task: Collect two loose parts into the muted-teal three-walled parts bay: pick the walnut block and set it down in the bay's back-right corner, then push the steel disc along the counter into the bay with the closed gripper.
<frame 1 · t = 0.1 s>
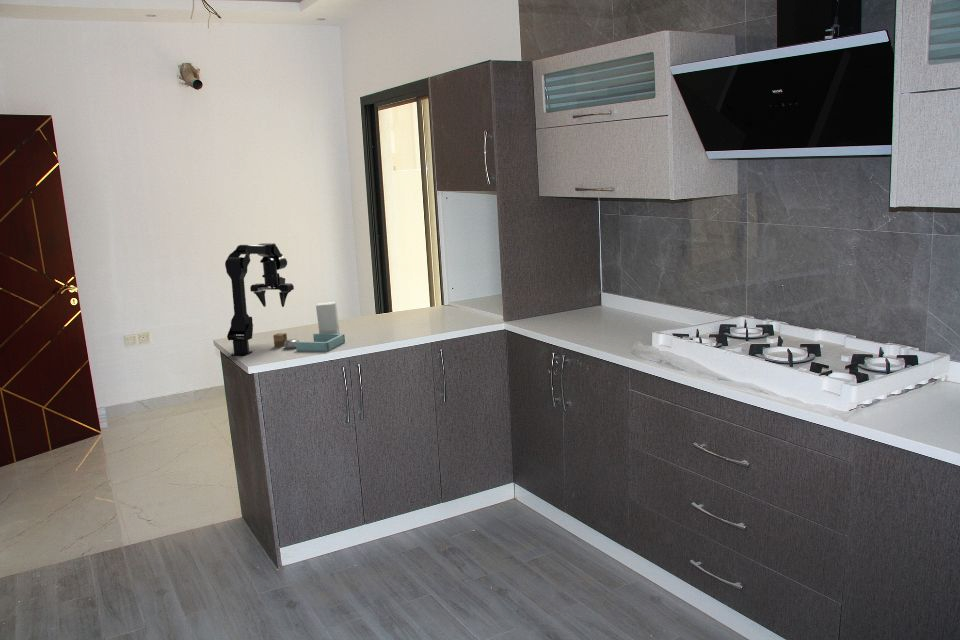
hand: (273, 306, 352), 15 cm above the table, fingers open, 9 cm apart
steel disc: (292, 347, 337), on the table
skincare box: (329, 338, 352), on the table
parts bay: (319, 346, 336), on the table
walnut block: (281, 345, 341), on the table
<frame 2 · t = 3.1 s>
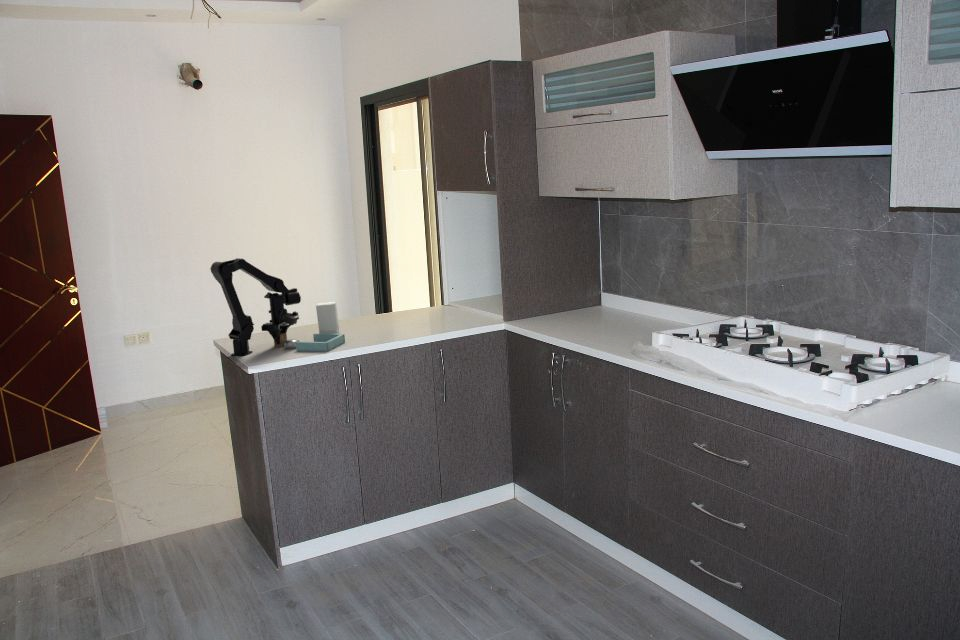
hand: (280, 343, 341), 1 cm above the table, fingers closed on walnut block, 4 cm apart
walnut block: (281, 345, 341), on the table, touching gripper
everything else where it was.
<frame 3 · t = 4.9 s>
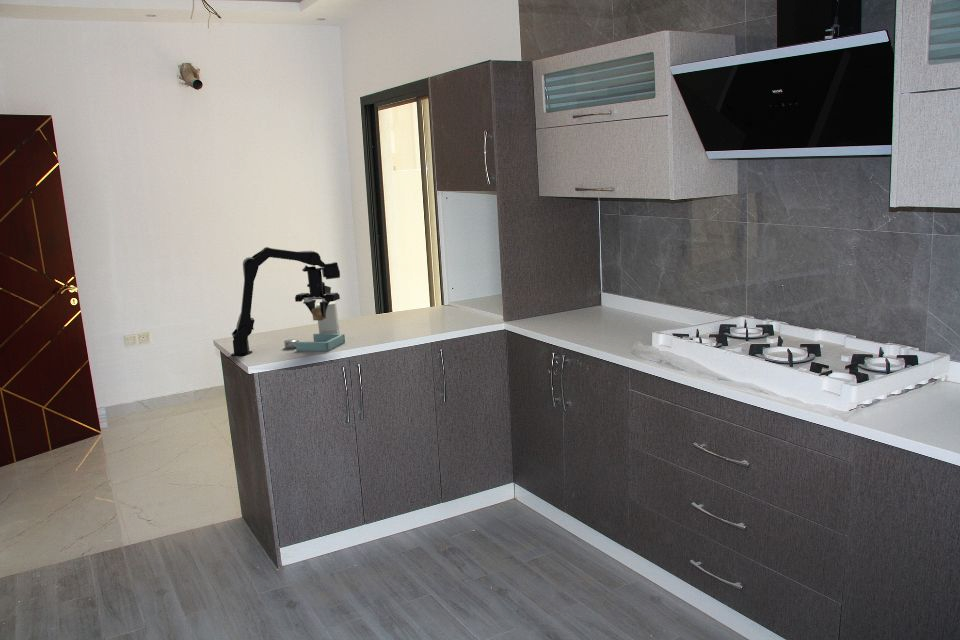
hand: (319, 317, 338), 12 cm above the table, fingers closed on walnut block, 4 cm apart
walnut block: (319, 319, 338), point 11 cm above the table, touching gripper
everything else where it was.
when the fingers open (2 cm above the table, at t = 7.1 s): walnut block drops 2 cm, on the table.
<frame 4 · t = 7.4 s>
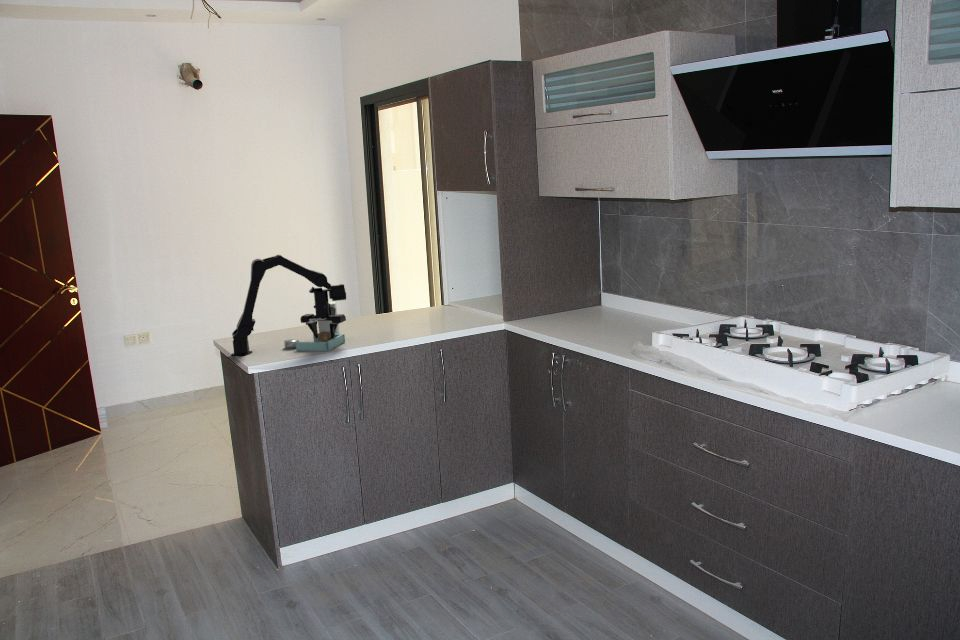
hand: (324, 338, 339), 2 cm above the table, fingers open, 7 cm apart
walnut block: (325, 344, 340), on the table
everything else where it was.
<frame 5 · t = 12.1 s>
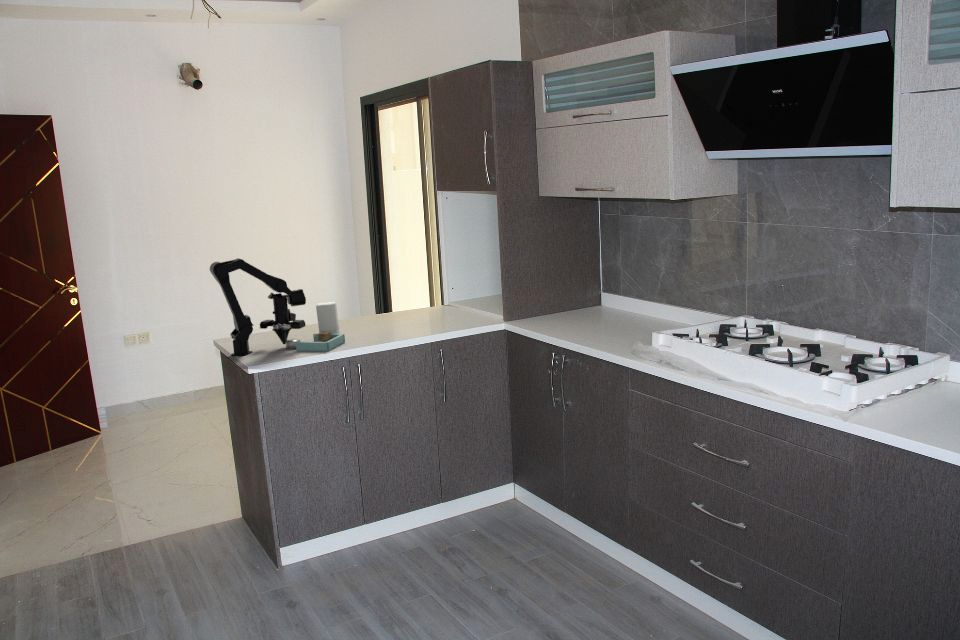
hand: (284, 344, 338), 1 cm above the table, fingers closed
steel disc: (293, 347, 337), on the table, touching gripper
everything else where it was.
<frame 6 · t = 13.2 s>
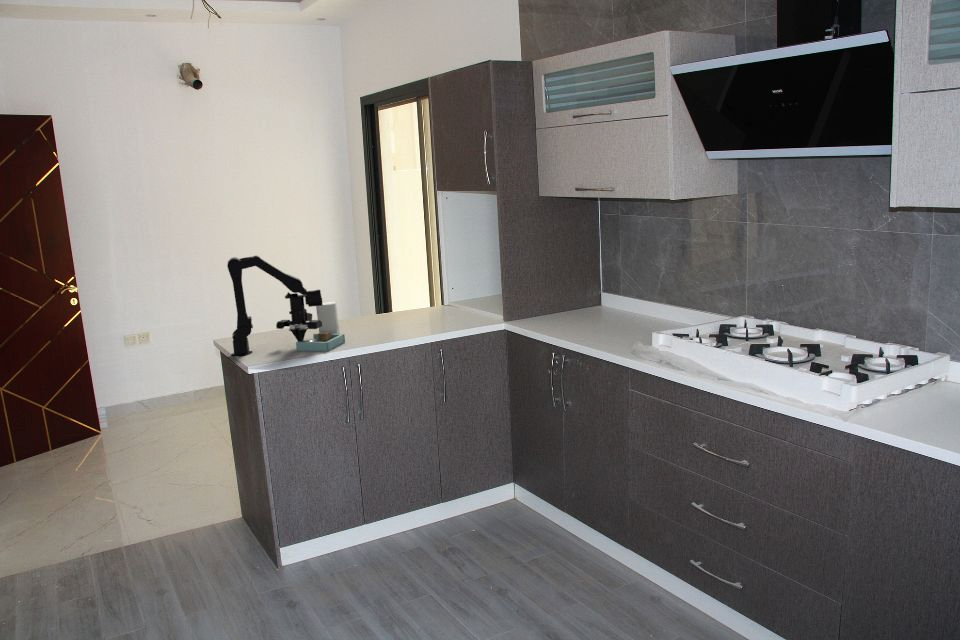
hand: (301, 344, 335), 1 cm above the table, fingers closed
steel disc: (310, 347, 334), on the table, touching gripper
everything else where it was.
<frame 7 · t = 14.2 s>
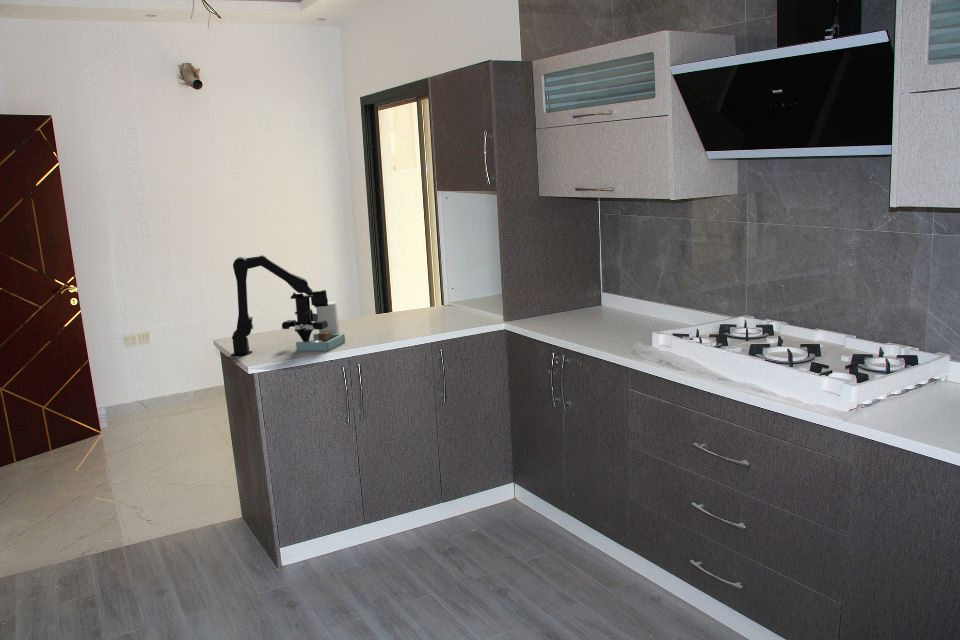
hand: (306, 344, 335), 1 cm above the table, fingers closed
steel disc: (315, 348, 334), on the table
everything else where it was.
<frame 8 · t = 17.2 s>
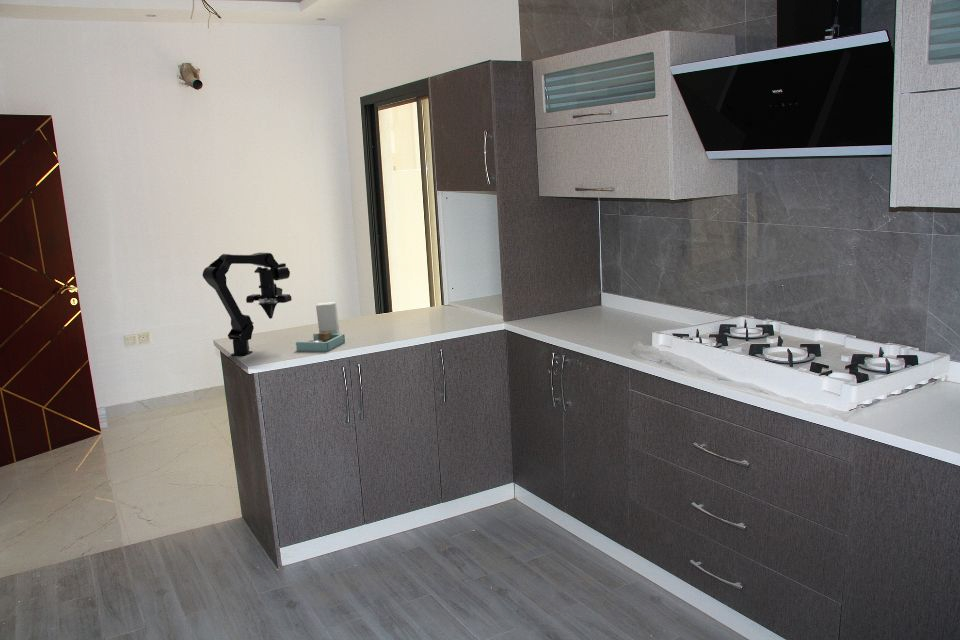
hand: (270, 318, 339), 12 cm above the table, fingers closed
nothing on the table moved.
at the end: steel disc inside the target area (3.3 cm from its centre), on the table; walnut block inside the target area (3.8 cm from its centre), on the table; walnut block tilted 0° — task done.
